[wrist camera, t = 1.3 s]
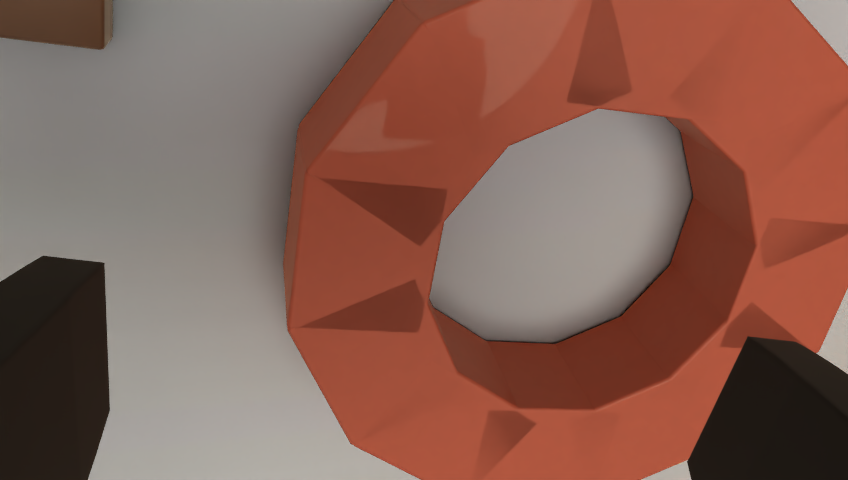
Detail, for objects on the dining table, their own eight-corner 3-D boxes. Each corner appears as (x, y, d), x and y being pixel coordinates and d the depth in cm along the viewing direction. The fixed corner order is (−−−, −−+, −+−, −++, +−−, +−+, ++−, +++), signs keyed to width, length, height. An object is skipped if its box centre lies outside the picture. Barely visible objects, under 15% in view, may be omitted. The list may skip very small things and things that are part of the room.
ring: (699, 429, 23) (752, 499, 20) (265, 424, 20) (266, 505, 17) (873, -9, 18) (973, 13, 15) (322, -110, 15) (335, -101, 12)
